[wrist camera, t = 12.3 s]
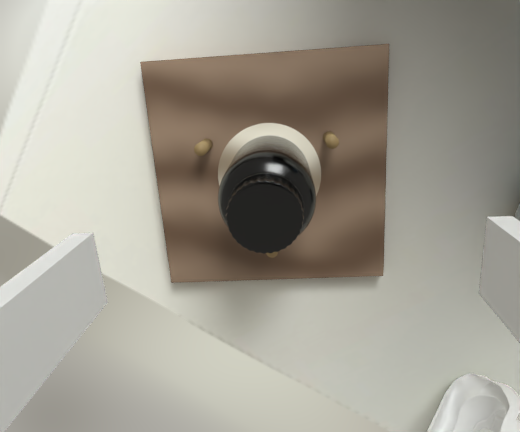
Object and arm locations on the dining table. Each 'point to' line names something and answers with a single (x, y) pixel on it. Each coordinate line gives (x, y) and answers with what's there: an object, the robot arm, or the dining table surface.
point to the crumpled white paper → (477, 407)
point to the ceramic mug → (518, 213)
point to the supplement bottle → (267, 194)
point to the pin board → (272, 124)
